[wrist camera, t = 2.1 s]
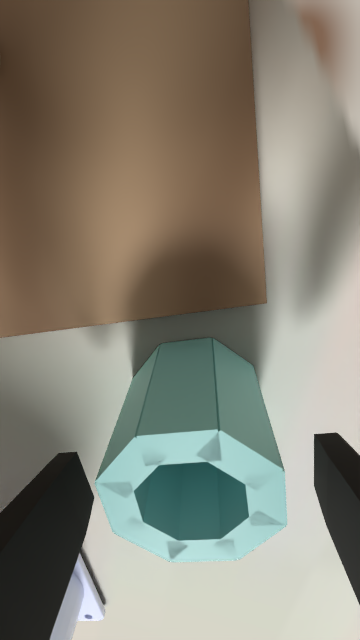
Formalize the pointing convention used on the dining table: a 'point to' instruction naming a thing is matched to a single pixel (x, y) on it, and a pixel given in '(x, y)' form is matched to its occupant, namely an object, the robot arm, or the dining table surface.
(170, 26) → the brown piece
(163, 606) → the dining table surface
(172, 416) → the teal bead
